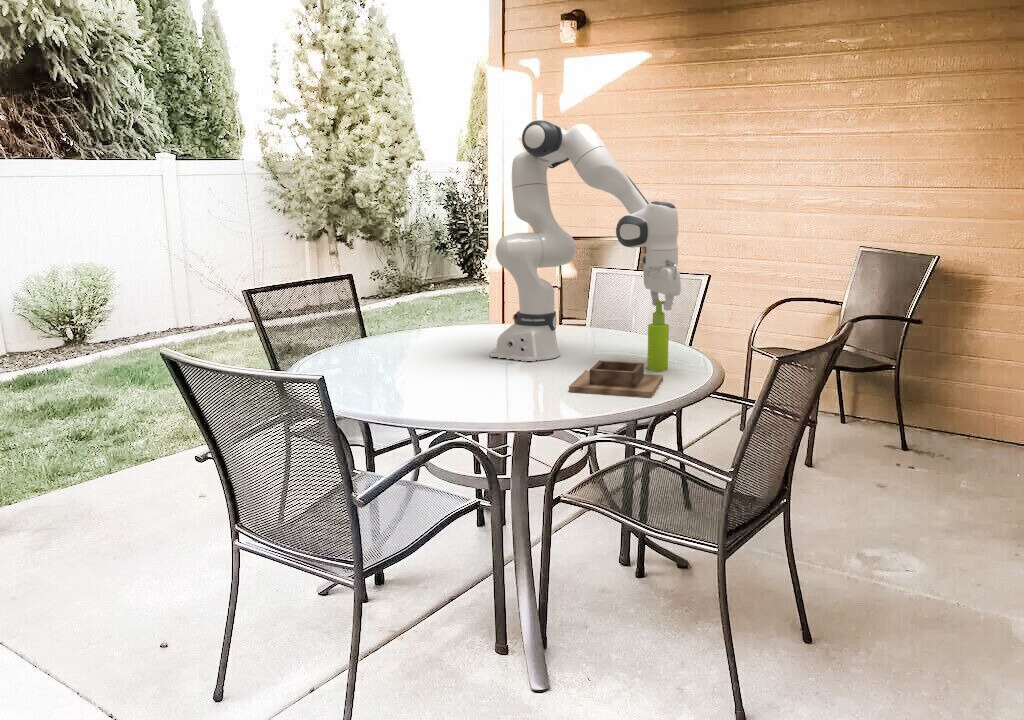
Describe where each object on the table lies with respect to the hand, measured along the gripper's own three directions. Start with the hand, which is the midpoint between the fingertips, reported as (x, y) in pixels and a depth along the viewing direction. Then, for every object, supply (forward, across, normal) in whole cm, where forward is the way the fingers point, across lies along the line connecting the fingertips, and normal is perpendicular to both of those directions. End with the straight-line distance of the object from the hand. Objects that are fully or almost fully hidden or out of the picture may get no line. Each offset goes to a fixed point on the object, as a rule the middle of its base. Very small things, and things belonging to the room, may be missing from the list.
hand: (661, 307), depth 224 cm
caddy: (+18, -15, +18) cm, 30 cm away
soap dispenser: (+18, +1, 0) cm, 18 cm away
